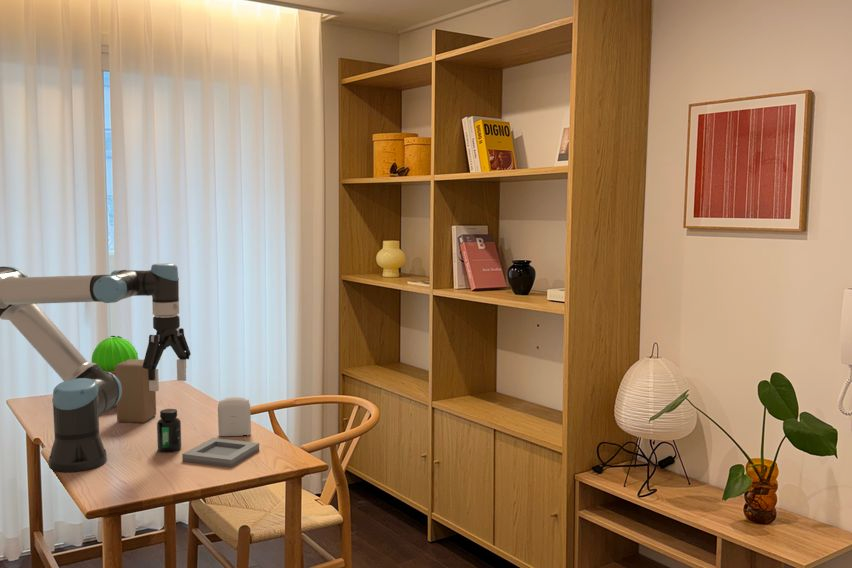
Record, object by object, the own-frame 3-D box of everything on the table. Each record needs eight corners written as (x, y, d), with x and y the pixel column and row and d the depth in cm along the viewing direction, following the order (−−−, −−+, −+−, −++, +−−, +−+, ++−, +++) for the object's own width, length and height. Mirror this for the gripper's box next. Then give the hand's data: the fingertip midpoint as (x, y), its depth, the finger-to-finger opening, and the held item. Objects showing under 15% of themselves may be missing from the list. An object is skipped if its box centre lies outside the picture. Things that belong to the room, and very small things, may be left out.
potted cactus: (115, 412, 275) (112, 342, 272) (70, 404, 284) (68, 337, 281) (160, 398, 295) (158, 333, 292) (117, 391, 304) (115, 328, 301)
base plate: (231, 467, 220) (231, 459, 220) (182, 461, 225) (182, 453, 225) (259, 450, 235) (259, 443, 235) (213, 444, 240) (212, 437, 240)
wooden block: (157, 415, 271) (155, 359, 269) (144, 423, 261) (142, 365, 259) (130, 414, 272) (128, 358, 270) (115, 422, 262) (113, 364, 260)
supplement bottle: (168, 454, 231) (166, 415, 229) (152, 450, 234) (151, 411, 233) (186, 448, 236) (185, 409, 235) (171, 444, 240) (170, 406, 239)
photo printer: (217, 437, 248) (216, 399, 246) (219, 433, 252) (218, 396, 250) (250, 436, 249) (249, 399, 247) (251, 432, 253) (251, 395, 251)
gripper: (150, 322, 218) (152, 396, 220) (201, 310, 242) (202, 377, 244) (127, 321, 220) (130, 394, 222) (180, 309, 244) (182, 375, 246)
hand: (168, 385), depth 233 cm, fingers open, 13 cm apart
